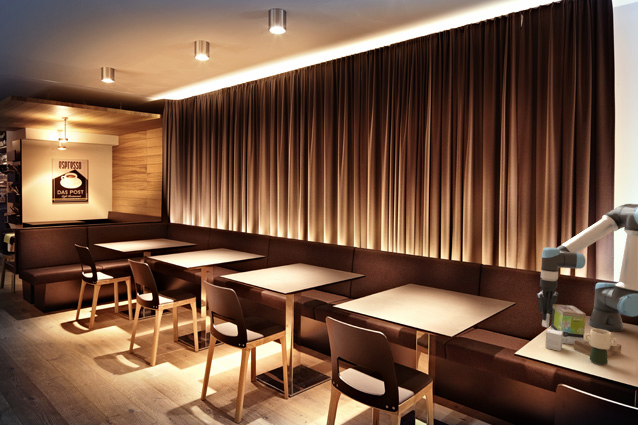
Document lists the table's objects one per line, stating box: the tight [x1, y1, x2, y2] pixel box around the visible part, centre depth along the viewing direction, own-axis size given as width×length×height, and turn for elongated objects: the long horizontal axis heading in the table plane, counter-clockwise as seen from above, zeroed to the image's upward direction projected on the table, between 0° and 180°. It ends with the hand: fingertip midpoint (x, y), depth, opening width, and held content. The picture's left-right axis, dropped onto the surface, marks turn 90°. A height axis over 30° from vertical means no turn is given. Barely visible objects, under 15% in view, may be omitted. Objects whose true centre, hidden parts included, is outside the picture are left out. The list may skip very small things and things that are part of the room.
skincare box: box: [544, 328, 563, 352], centre depth 193 cm, size 6×6×7 cm
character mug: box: [584, 328, 618, 365], centre depth 177 cm, size 11×7×13 cm, turn 61°
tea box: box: [550, 303, 587, 345], centre depth 206 cm, size 15×10×15 cm, turn 168°
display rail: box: [573, 340, 623, 357], centre depth 191 cm, size 16×10×4 cm, turn 113°
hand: (545, 326), depth 217 cm, fingers closed
